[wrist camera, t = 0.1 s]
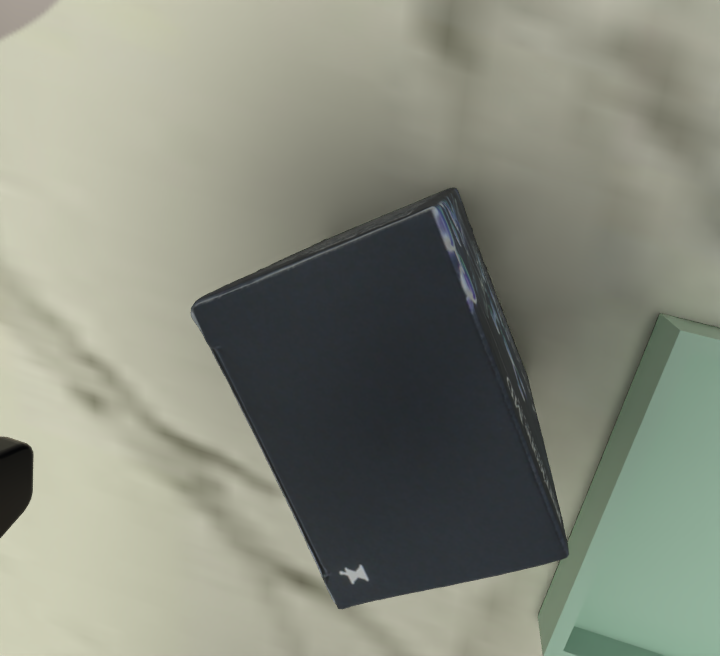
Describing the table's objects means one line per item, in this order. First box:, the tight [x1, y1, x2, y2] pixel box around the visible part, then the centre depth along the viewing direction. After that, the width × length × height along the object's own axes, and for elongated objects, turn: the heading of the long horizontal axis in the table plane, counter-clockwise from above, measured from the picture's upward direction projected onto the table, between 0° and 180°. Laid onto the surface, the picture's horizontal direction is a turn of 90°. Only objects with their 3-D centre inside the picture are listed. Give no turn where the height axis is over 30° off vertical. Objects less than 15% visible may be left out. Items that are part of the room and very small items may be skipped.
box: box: [191, 188, 569, 609], centre depth 16 cm, size 8×6×11 cm
